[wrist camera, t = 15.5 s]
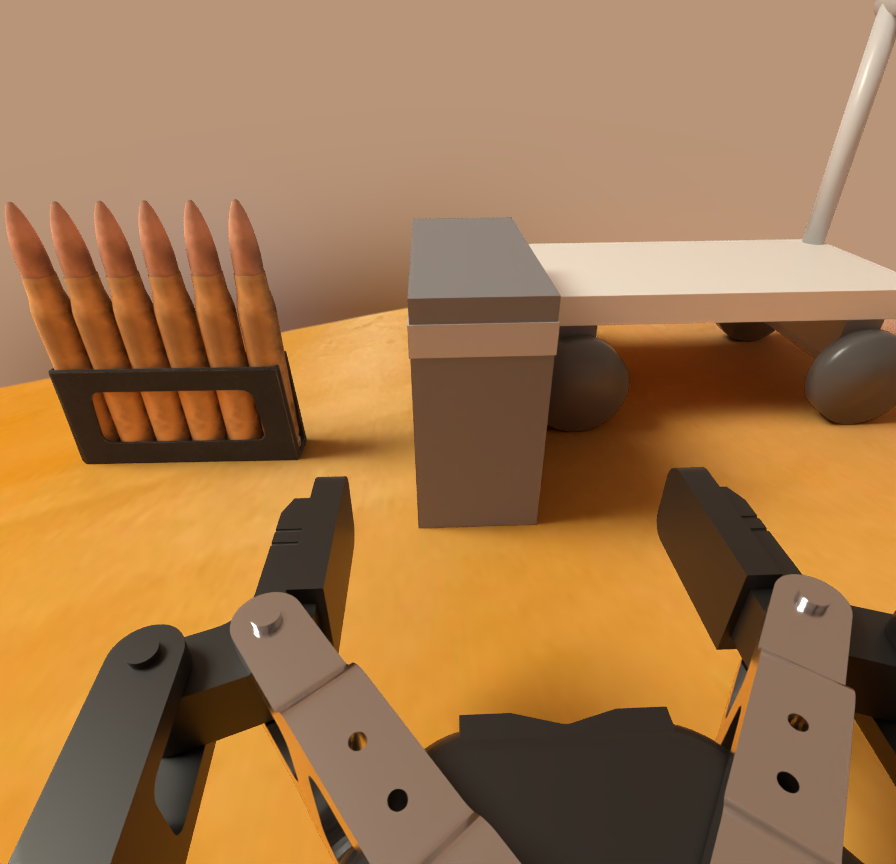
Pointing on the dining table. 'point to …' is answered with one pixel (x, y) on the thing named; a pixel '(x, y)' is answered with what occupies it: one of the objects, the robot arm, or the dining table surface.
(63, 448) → the dining table surface
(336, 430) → the dining table surface
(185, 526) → the dining table surface
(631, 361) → the dining table surface
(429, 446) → the grey lidded box
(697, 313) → the trolley
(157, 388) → the ammunition clip
